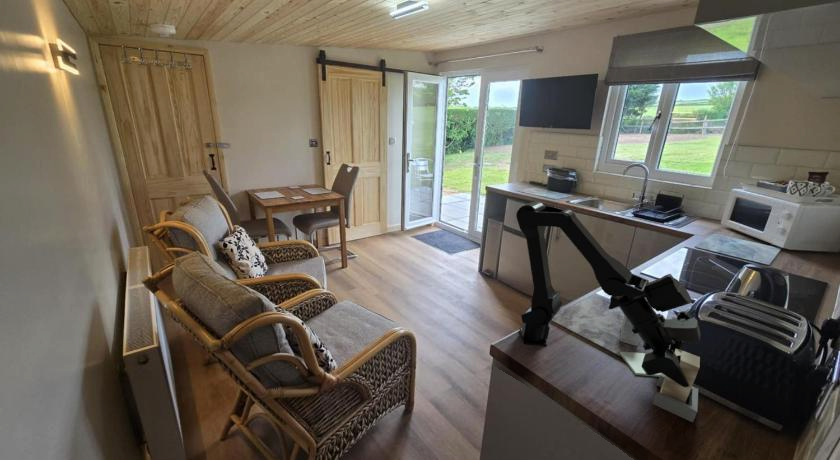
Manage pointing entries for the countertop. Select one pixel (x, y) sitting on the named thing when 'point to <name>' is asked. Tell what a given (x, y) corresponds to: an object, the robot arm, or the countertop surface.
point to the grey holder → (678, 402)
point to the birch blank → (689, 369)
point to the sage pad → (636, 362)
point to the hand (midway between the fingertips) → (687, 380)
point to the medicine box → (628, 333)
